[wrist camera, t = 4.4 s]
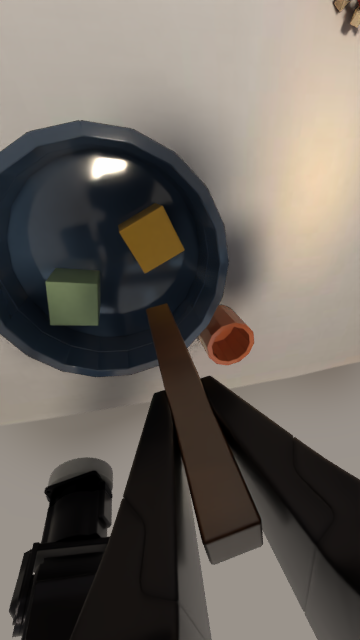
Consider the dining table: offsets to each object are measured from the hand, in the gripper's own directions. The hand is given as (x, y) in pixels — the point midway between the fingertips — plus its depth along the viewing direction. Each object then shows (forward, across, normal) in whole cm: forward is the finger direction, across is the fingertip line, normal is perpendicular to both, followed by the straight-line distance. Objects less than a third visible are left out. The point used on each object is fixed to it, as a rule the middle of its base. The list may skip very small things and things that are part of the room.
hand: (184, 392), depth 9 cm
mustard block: (+13, -1, -3) cm, 13 cm away
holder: (+13, -5, +6) cm, 15 cm away
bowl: (+13, +2, -2) cm, 13 cm away
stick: (+6, 0, 0) cm, 6 cm away
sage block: (+13, +5, 0) cm, 14 cm away
